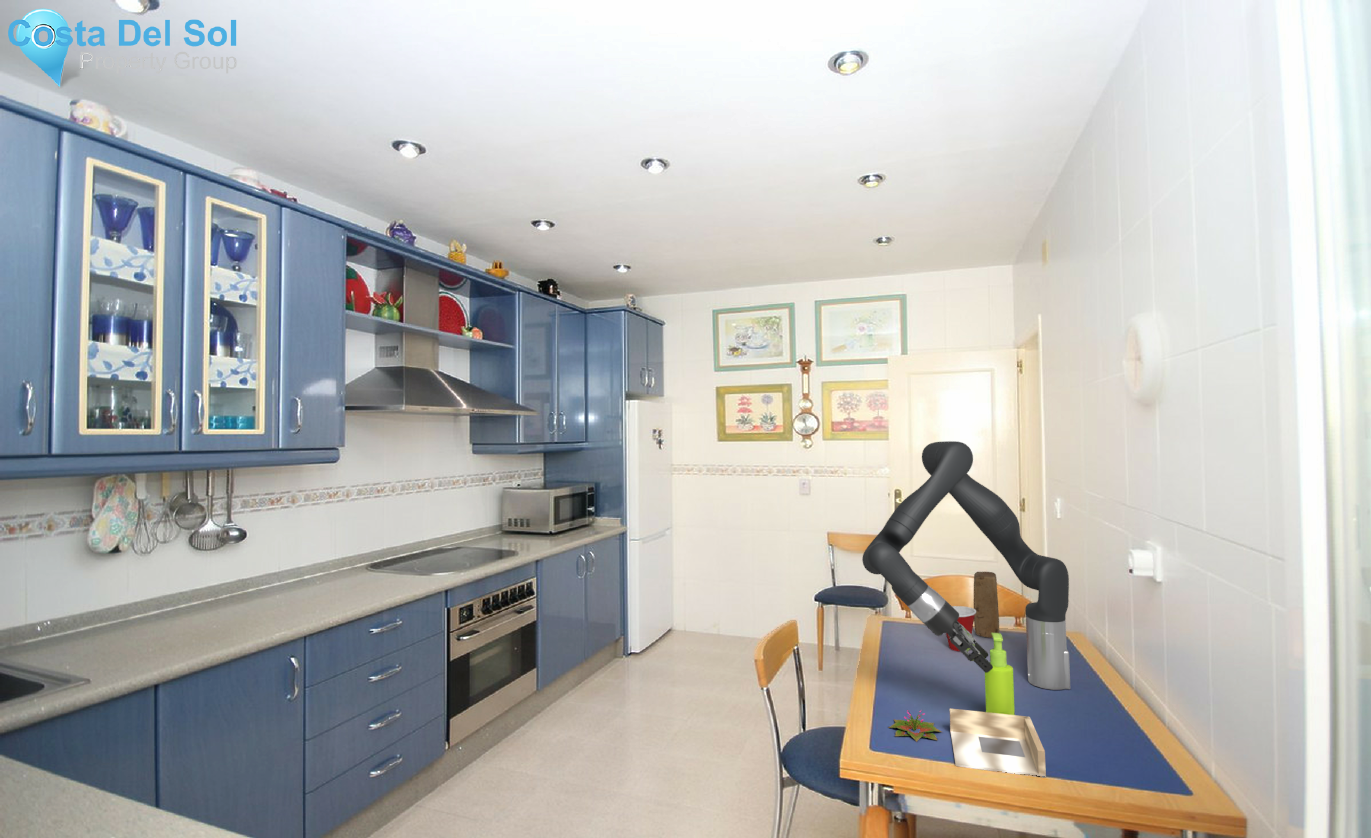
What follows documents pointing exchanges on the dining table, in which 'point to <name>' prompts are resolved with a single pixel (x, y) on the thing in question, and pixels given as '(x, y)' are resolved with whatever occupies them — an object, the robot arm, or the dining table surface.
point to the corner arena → (996, 742)
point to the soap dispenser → (999, 681)
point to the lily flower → (914, 728)
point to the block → (986, 604)
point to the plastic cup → (963, 621)
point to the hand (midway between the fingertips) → (987, 663)
